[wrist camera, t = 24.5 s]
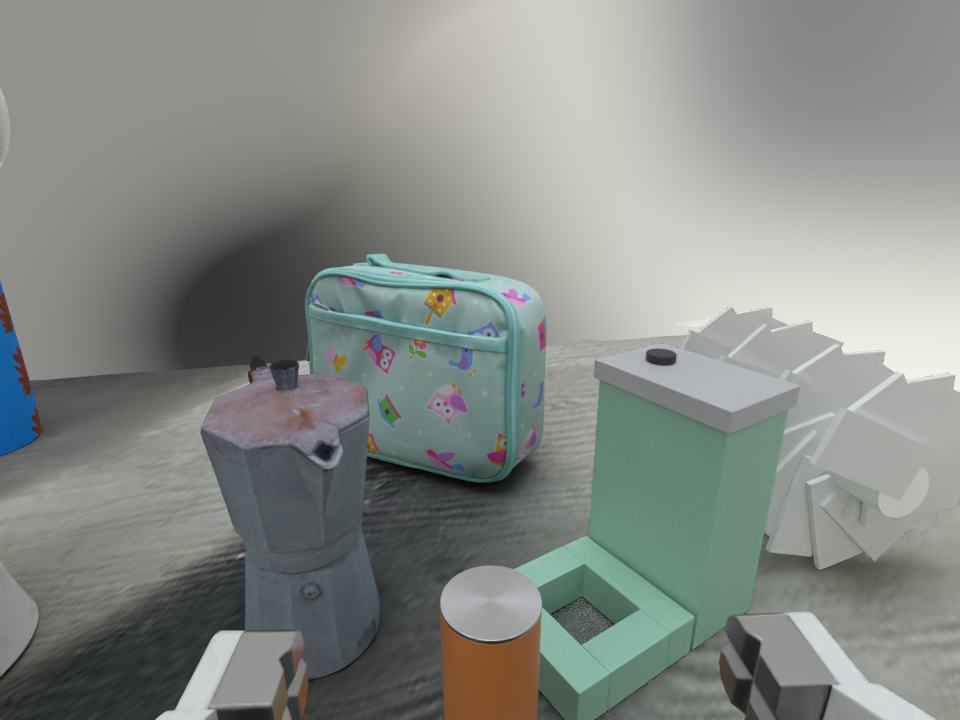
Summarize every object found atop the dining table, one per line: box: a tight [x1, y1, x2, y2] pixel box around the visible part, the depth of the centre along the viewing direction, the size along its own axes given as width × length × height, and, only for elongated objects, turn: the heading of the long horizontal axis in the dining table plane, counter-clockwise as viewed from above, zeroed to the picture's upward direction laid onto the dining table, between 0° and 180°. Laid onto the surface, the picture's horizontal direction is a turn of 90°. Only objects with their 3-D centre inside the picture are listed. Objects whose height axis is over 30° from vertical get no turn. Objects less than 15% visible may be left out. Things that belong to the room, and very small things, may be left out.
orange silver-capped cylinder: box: [440, 566, 542, 720], centre depth 26 cm, size 4×4×12 cm
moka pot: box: [201, 356, 381, 680], centre depth 36 cm, size 10×15×20 cm, turn 39°
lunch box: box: [305, 254, 546, 483], centre depth 59 cm, size 27×10×21 cm, turn 62°
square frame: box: [513, 536, 695, 720], centre depth 37 cm, size 10×10×3 cm
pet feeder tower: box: [589, 343, 800, 650], centre depth 39 cm, size 7×11×18 cm, turn 33°
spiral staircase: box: [681, 306, 960, 570], centre depth 50 cm, size 18×18×25 cm
